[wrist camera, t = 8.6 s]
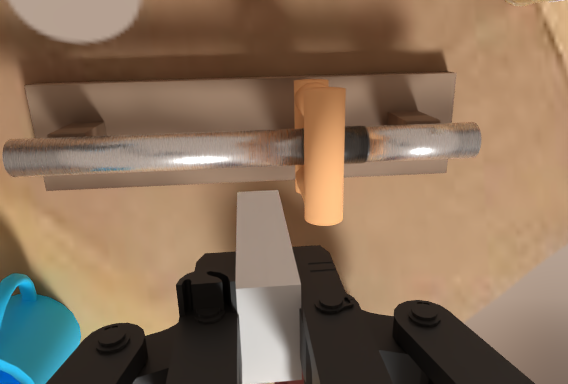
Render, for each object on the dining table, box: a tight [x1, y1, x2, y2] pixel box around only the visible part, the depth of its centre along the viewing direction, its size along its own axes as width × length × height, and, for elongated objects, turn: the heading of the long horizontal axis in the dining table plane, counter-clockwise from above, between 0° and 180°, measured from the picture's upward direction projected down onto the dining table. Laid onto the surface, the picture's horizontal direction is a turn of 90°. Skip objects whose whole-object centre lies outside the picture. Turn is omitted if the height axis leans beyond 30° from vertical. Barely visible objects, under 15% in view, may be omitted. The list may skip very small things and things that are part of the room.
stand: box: [25, 72, 457, 191], centre depth 33 cm, size 8×32×6 cm, turn 91°
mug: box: [0, 273, 81, 384], centre depth 36 cm, size 12×8×8 cm
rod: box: [3, 122, 481, 177], centre depth 29 cm, size 30×2×2 cm, turn 91°
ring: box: [294, 79, 346, 226], centre depth 29 cm, size 8×2×8 cm, turn 1°
